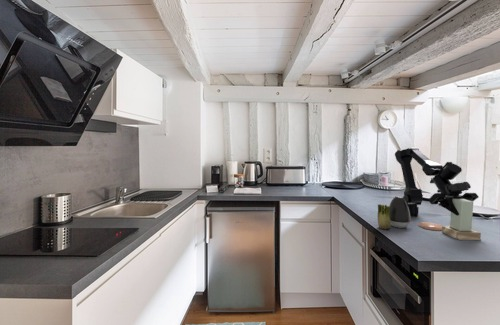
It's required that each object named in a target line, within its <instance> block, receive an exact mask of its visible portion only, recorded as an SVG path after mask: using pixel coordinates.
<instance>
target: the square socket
mask: <svg viewBox="0 0 500 325" xmlns="http://www.w3.org/2000/svg"><path fill="white" fill-rule="evenodd" d="M441 233H442V234H444V235H448V236H449V237H452V238H453V239H457V240H459V241H473V240H476V241H481V238H482V236H481V235H482V233H481V232H480V231H477V230H474V229H473V228H471V231H459V230H456V229H454V228H452V227H450V225H442V230H441Z"/></svg>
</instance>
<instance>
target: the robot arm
mask: <svg viewBox="0 0 500 325" xmlns="http://www.w3.org/2000/svg"><path fill="white" fill-rule="evenodd" d="M394 156H395V159H396V162H397V163H398V164H400V167H401V172H402V176H403V177H402V178H403V180H404V185H405V188H404V192H403V196H402V198H404V200H405V201H406V203H407V205H408V208H409V212H410V217H411V216H412V217H418V216H419V210H420V209H419V206H421V204H422V202H423V200H424V194H423V191H422V189H421V188H418V187H417V185H416V180H415V176H414V172H413V168H412V164H411V163H412V160H415V162H417V163H418V165H420V166H421V167H422V168H421V170H422V172H423V173H424V174H425V176H427V177H428V176H429V177H431V178H430V180H429V183H430V184H434V185H435V186H436V188H437V192H434V193H433V194H432V195H431V196H430V197H429V198H428V201H429V203H430V205H438V206H439V207H440V206H441V207H442V208H444V209H446V210H447V211H449V212H450V213H451V212H452V213H454V214H455V215H457V216H458V215H459V213H458V211H457V209H456V208H455V206H454V204H453V203H452V199H466V200H469V201H473V202H474V201H476V200H477V199H479V195H478V194H477V193H476V192H465V193H463V192H464V191H469V189H471V184H470V183H469V182H468V181H463V182H455V183H452V182H451V180H454V179H455V178H456V177H457V176H458V175H459V174H461V173H462V171H463V169H462V167H461V166H459V165H458V164H456V163H453V161H446V162H445V164H444V165H442V164H440V163H439V162H436V161H433V160H431V159H430V158H429V157H427V156H426V155H425V154H424V153H423V152H422V151H420V148H418V147H409V148H405V149H397V150H396V152H395V153H394ZM462 194H463V195H462Z"/></svg>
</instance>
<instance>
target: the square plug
mask: <svg viewBox="0 0 500 325" xmlns="http://www.w3.org/2000/svg"><path fill="white" fill-rule="evenodd" d="M452 203H453V204H454V206H455V208H456V209H457V211H458V213H459V215H458V216H457V215H455V214H454V213H452V212H451V211H450V220H449V226H450V227H452V228H454V229H456V230H459V231H471V229H473V228H472V225H473V216H474V215H473V214H474V213H473V212H474V201H469V200H466V199H452Z"/></svg>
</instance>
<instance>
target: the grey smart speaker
mask: <svg viewBox="0 0 500 325" xmlns="http://www.w3.org/2000/svg"><path fill="white" fill-rule="evenodd" d="M388 206H389V207H390V209H389V218H390V226H392V227H394V228H397V227H398V229H405V228H407V227H408V226H409V224H410V222H411V218H412V217H411V216H410V212H409V208H408V205H407V203H406V201H405V200H404V198H403V196H397V195H395V196H394V197H393V198H392V199H391V201H390V203H389V204H388Z"/></svg>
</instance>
